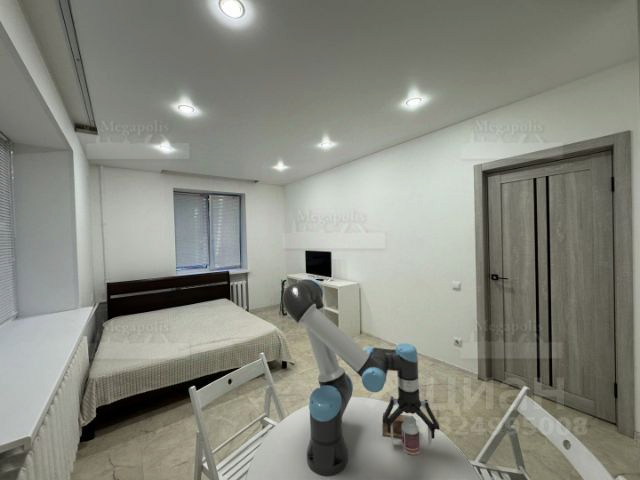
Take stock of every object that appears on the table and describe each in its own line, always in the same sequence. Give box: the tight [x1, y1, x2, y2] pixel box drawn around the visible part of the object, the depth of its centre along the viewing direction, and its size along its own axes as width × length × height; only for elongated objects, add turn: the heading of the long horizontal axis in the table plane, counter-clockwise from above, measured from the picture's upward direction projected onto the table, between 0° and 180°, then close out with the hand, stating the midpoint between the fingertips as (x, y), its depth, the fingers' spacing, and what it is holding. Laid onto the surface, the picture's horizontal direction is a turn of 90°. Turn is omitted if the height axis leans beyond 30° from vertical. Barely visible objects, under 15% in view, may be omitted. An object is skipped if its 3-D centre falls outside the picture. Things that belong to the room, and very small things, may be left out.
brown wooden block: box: [381, 412, 414, 440], centre depth 108 cm, size 13×7×6 cm, turn 76°
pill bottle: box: [401, 415, 420, 456], centre depth 100 cm, size 6×6×11 cm
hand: (411, 443), depth 100 cm, fingers open, 13 cm apart
